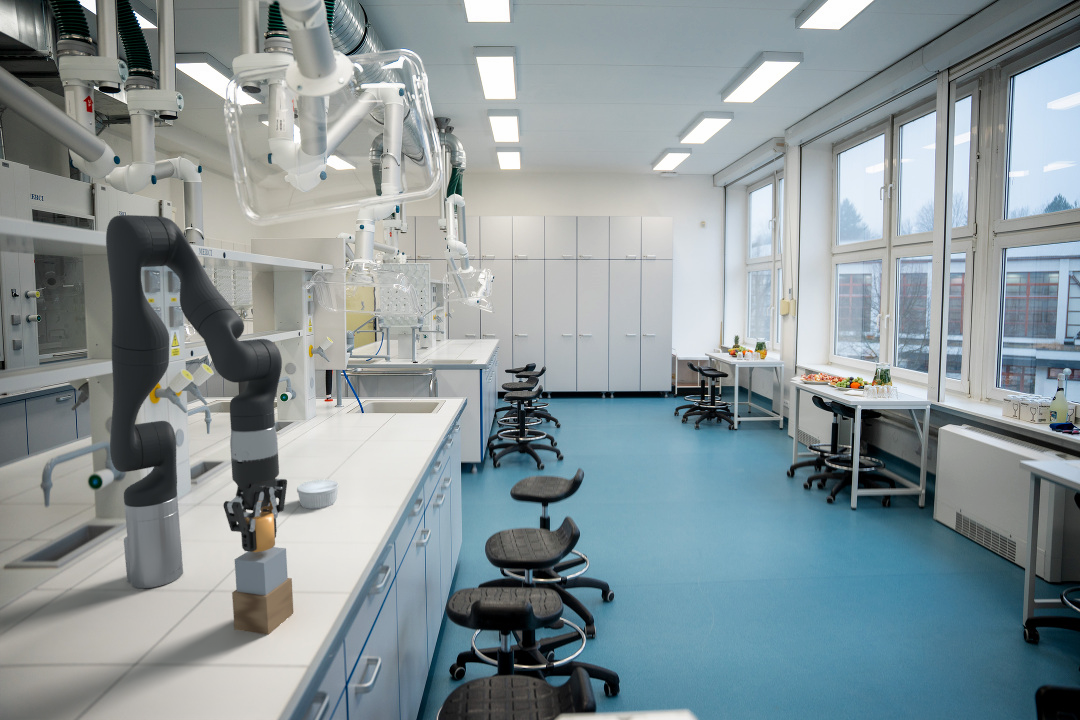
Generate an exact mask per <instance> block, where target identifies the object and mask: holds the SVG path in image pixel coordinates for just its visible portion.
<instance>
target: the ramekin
mask: <svg viewBox="0 0 1080 720" xmlns="http://www.w3.org/2000/svg"><path fill="white" fill-rule="evenodd" d="M339 486H340V485H339V482H338V481H336V480H333V479H315V480H310V481H309V480H308V481H306V482H303V483H300V484H299V485H298V486H297V488H296V492H297V494H298V499H299V503H300V506H302V507H303V508H305V509H311V510H312V509H314V510H316V509H317V510H318V509H323V508H327V506H328V507H330V506H333V505H334V504H335V503H336V502H337V499H338V490H339Z"/></svg>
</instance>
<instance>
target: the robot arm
mask: <svg viewBox="0 0 1080 720" xmlns="http://www.w3.org/2000/svg"><path fill="white" fill-rule="evenodd" d="M105 234H106V235H105V246H106V256H107V264H108V265H107V266H108V274H109V281H110V292H111V320H112V321H111V323H112V324H111V325H112V326H111V368H112V391H113V393H112V394H113V395H112V396H113V397H112V413H111V422H110V423H111V425H110V438H109V439H110V441H109V453H110V460H111V463H112V465H113V468H114V469H115V470H117V472H121V473H125V472H126V473H128V472H133V471H134V472H135V471H139V470H145V469H151V468H152V470H151V471H150V472H149V473H148V474H146V476H144V477H142V478H141V479H140V480H138V481H136V482H134V483H132V484H130V485H129V486H127V487H126V488H125V490H124V491H123V502H124V512H125V513H124V515H125V524H126V525H125V526H126V536H125V537H124V538H123V545H124V547H123V548H124V559H125V569H126V582H127V583H130V584H131V586H132V587H133V588H137V589H152V588H157V587H160V586H163V585H167V584H170V583H172V582H175V581H176V580H178V579H179V578H180V577H181V576H182V575H183V573H184V568H183V551H182V539H181V538H182V537H181V527H180V525H181V524H180V513H179V512H180V511H179V502H178V501H179V499H178V489H177V488H178V472H177V439H176V433H175V430H174V427H173V426H172V424H171V423H170V422H168V421H167V420H155V421H151V422H150V421H149V422H148V421H147V422H142V423H136V422H137V417H138V414H139V412H140V409H141V407H142V405H143V404H144V403H145V401H146V399H147V398H148V396H149V395H150V394H151V393H152V391H153V390H154V389H155V388H156V386H157V385H158V384H159V383H160V381H161V380H162V378H163V377H164V375H165V374H166V372H167V370H168V368H169V364H170V334H169V330H168V329H167V328H168V327H167V326H166V324H165V323H164V321H163V319H162V318H161V317H160V316H159V314H158V313H157V312H156V311H155V309H154V308H153V306H152V305H151V304H150V302H149V300H148V299H147V298H146V296H145V293H144V290H143V289H144V288H143V284H142V268H150V267H151V268H153V267H167V268H168V269H170V270H172V271H173V273H174V274H176V275H177V277H178V280H179V283H180V284H179V285H180V286H179V287H180V288H179V305H180V308H181V311H182V313H183V315H184V318H186V319H187V322H188V323H189V324H190V325H191V326H192V327H193V328H194V329H195V331H196V332H197V333H198V334H199V335H200V337H201V338H202V339H203V341H204V343H205V345H206V349H207V351H208V354H209V356H210V359H211V362H212V365H213V367H214V369H215V371H216V372H217V374H218V375H219V376H221V377H222V378H223V379H225V380H227V381H229V382H232V383H243V382H247V386H246V389H244V390H243V392H241V393H239V394H237V395H235V396H234V397H232V399H231V400H230V402H229V418H230V419H229V420H230V421H229V422H230V439H229V441H230V442H229V444H230V445H229V447H230V457H231V458H230V460H231V463H230V464H231V477H232V478H231V479H232V480H233V482H234V483H235V484H236V486H237V490H236V493H235V497H234V498H233V499H232V500H225V501H224V502H223V509H224V512H225V516H226V520H227V522H228V526H229V528H230V531H231V532H237V533H240V534H241V548H242V550H243V551H244V552H248V551H249V552H253V551H255V550H256V549H257V545H256V530H255V525H256V519H257V518H258V517H259V515H260V512H270V513H273V515H274V531H275V539H276V538H277V531H278V529H277V518H278V516H279V513H281V512H284V510H285V503H286V494H287V489H288V488H287V486H288V480H287V479H285V478H277V477H278V476H279V474H280V464H279V446H278V445H279V444H278V435H277V434H278V433H277V431H276V430H277V429H276V418H275V416H276V415H275V406H274V405H275V400H276V396H277V393H278V387H279V383H280V378H281V374H282V365H283V361H282V354H281V352H280V350H279V348H278V346H277V345H276V343H274V342H273V341H271V340H270V339H267V338H258V339H257V338H255V339H247V340H239V338H240V337H241V336H242V335H243V333H244V330H245V323H244V320H243V319H242V318H241V316H240V315H239V314H238V313H237V311H236V310H235V309H234V308H233V307H232V305H231V304H229V302H228V301H227V300H226V299H225V297H224V296H223V295H222V294H221V293H220V292H219V290H218V289H217V287H216V286H215V285H214V283H213V282H212V280H211V279H210V277H209V276H208V273H207V272H206V270H205V268H204V266H203V265H202V263H201V261H200V260H199V257H198V256H197V255H196V253H195V250H194V248H192V246H191V244H190V243H189V241H188V238H187V237H186V236H185V233H183V231H182V229H180V227H179V226H178V225H177V224H176V223H175V222H174V221H173V220H172V219H171V218H168V217H165V216H159V215H158V216H157V215H135V214H134V215H133V214H132V215H131V214H124V215H123V214H120V215H116V216H113V217H112V218H111V219H110V220H109V223H107V227H106V233H105ZM277 499H278V502H277ZM247 511H252V512H247ZM247 517H248V518H249V524H247V523H246V520H247Z"/></svg>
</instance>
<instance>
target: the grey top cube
mask: <svg viewBox="0 0 1080 720" xmlns="http://www.w3.org/2000/svg"><path fill="white" fill-rule="evenodd" d="M234 572H235V584H236V585H235V588H236V589H235V590H237V592H244V593H251V594H259V595H267V594H268V593H270V592H271V591H273V590H274V589H275V588H277V587H278V586H279V585H281V584H282V583H283V582H285V581H286V580H287V579H288V578H289V576H288V561H287V548H286V547H285V548H284V547H278V546H277V547H276V546H274V547H272V548H271V549H268V550H265V551H261V552H249V551H245V553H242V554H241V555H240V556H237V557H236V558H235V559H234Z"/></svg>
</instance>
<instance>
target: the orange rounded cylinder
mask: <svg viewBox="0 0 1080 720" xmlns="http://www.w3.org/2000/svg"><path fill="white" fill-rule="evenodd" d="M246 523H247V524H249V518H248V517H247V520H246ZM255 530H256V545H257V549H256V550H255V551H253V552H261V551H265V550H268V549H271V548H272V547H276V538H275V531H274V515H273V513H270V512H261V511H260V515H259V517H258V518H257V519H256V525H255Z"/></svg>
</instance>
